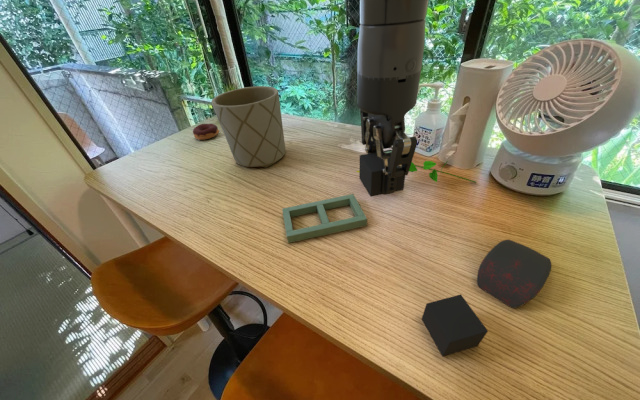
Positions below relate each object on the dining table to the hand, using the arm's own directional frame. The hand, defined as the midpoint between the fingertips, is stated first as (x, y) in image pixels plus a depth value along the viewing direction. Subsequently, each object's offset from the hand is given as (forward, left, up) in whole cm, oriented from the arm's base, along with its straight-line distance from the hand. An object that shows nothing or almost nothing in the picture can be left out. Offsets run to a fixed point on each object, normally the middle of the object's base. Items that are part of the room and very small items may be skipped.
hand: (380, 181), depth 41 cm
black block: (-18, -4, -16) cm, 24 cm away
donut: (+75, +42, -16) cm, 87 cm away
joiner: (+11, +8, -16) cm, 21 cm away
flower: (+18, -17, -16) cm, 29 cm away
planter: (+48, +21, -16) cm, 55 cm away
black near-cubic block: (0, 0, 0) cm, 0 cm away
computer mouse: (-12, -20, -16) cm, 28 cm away
